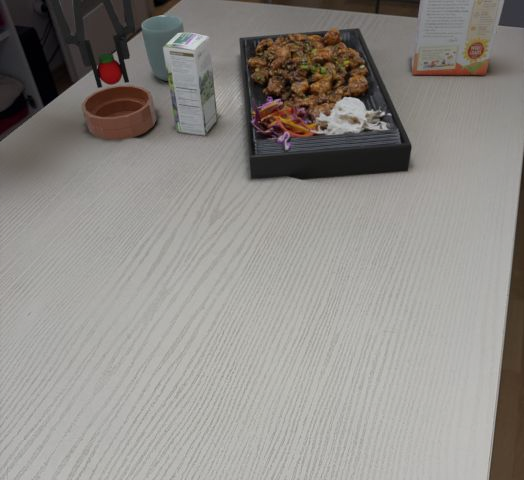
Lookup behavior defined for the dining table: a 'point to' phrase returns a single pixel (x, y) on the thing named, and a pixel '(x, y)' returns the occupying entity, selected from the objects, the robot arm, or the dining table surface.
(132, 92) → the bowl
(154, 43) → the cup
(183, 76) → the syrup box
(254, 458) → the dining table surface
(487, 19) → the cracker box
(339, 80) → the food platter
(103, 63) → the strawberry
